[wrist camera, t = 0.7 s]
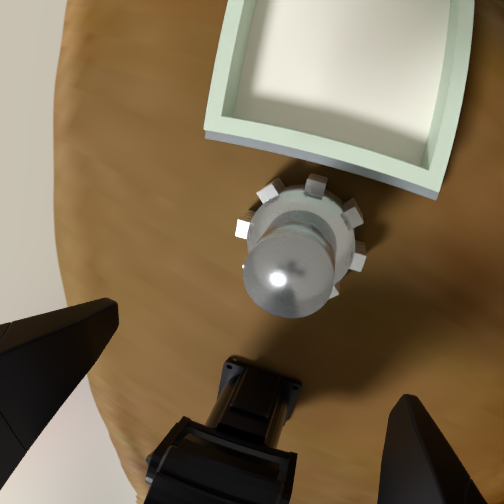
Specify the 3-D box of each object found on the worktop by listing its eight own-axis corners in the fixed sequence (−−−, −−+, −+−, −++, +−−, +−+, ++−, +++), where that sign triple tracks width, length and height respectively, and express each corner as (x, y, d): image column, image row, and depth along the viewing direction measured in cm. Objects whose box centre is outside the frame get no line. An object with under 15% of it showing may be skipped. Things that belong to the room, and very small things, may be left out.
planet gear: (344, 300, 20) (339, 361, 15) (237, 268, 21) (201, 318, 16) (380, 193, 17) (396, 226, 12) (257, 159, 18) (220, 177, 13)
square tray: (429, 194, 16) (446, 210, 13) (215, 136, 18) (188, 141, 15) (466, -3, 10) (486, -22, 7) (253, -51, 13) (235, -77, 9)
